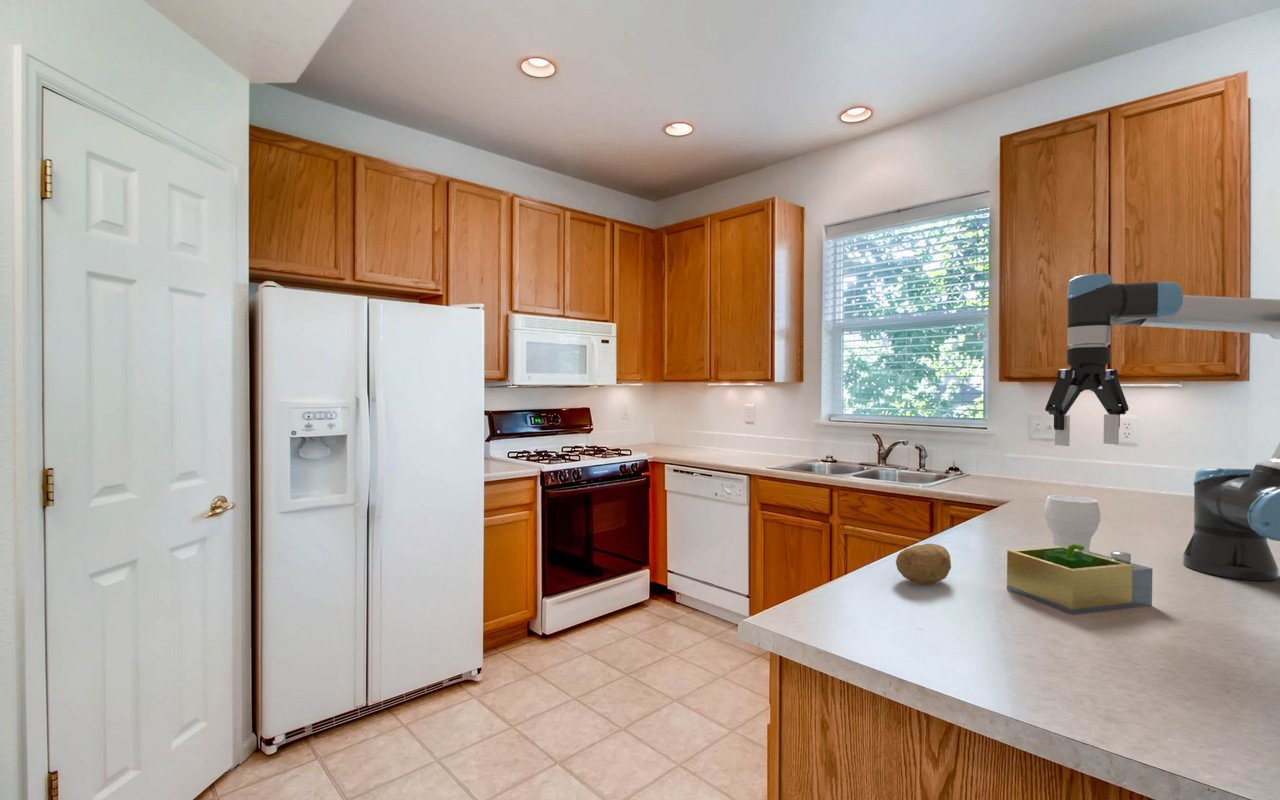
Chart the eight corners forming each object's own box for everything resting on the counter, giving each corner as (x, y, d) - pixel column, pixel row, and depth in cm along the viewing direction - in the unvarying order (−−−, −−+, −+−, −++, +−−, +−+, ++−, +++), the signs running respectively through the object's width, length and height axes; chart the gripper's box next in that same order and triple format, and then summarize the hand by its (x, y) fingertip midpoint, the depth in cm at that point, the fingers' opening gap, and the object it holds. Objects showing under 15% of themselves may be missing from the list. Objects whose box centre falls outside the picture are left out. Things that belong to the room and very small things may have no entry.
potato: (963, 581, 126) (964, 544, 126) (931, 595, 117) (932, 555, 117) (918, 570, 133) (918, 535, 133) (885, 583, 125) (885, 545, 125)
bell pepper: (1034, 585, 120) (1035, 536, 120) (1078, 587, 119) (1079, 537, 119) (1058, 599, 112) (1058, 547, 112) (1105, 601, 111) (1106, 548, 111)
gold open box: (1080, 582, 125) (1080, 539, 125) (1151, 605, 112) (1152, 557, 112) (1006, 589, 121) (1007, 545, 121) (1072, 614, 107) (1073, 565, 107)
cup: (1109, 570, 134) (1110, 503, 134) (1056, 567, 136) (1057, 502, 136) (1084, 557, 144) (1085, 495, 144) (1035, 554, 146) (1036, 494, 146)
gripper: (1114, 349, 135) (1113, 441, 136) (1026, 347, 129) (1025, 444, 130) (1150, 346, 128) (1148, 444, 129) (1058, 344, 122) (1057, 447, 122)
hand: (1086, 444), depth 129 cm, fingers open, 13 cm apart
